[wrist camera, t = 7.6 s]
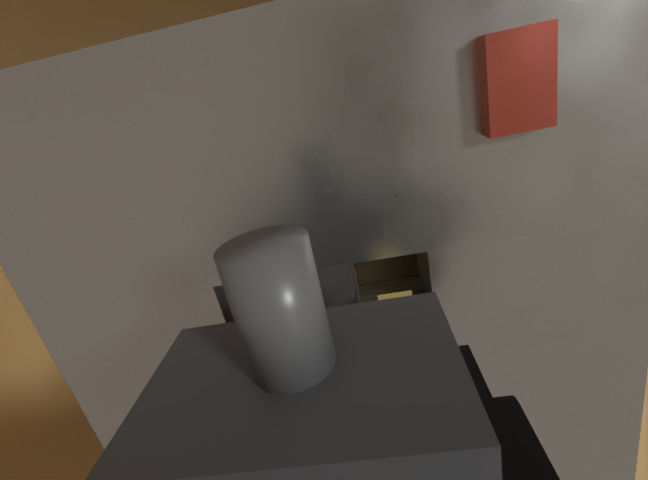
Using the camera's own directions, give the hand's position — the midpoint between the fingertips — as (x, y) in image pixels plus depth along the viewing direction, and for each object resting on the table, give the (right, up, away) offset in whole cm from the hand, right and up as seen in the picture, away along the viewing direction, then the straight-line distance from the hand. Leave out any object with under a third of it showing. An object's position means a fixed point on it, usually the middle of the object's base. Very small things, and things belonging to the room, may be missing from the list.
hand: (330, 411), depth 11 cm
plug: (0, +2, +2) cm, 3 cm away
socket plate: (0, +2, +6) cm, 6 cm away
